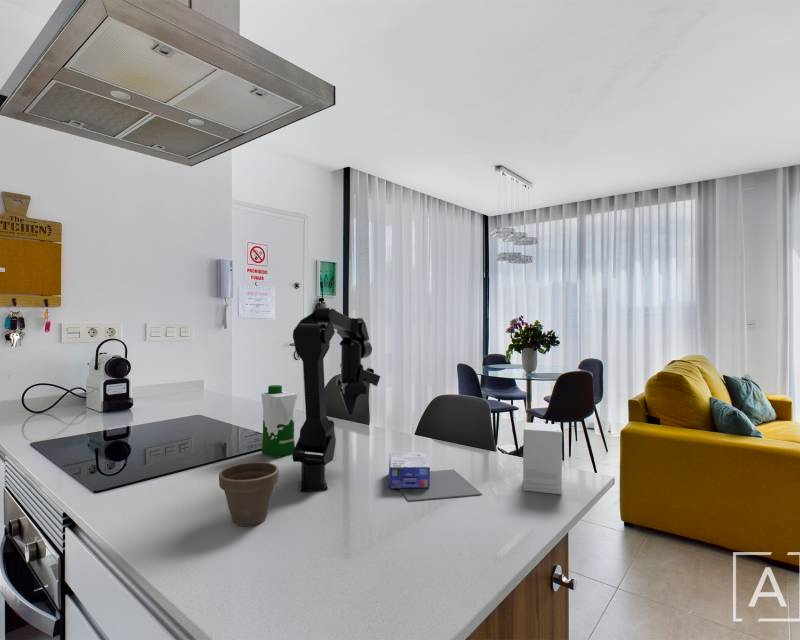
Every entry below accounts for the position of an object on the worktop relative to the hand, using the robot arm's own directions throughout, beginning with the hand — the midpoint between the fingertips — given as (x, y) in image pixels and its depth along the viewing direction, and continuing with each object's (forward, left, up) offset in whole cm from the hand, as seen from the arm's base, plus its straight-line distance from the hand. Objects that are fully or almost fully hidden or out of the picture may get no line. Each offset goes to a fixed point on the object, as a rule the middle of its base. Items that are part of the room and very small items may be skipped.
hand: (350, 414), depth 135 cm
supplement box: (-32, -43, -13) cm, 55 cm away
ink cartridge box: (-15, -13, -10) cm, 23 cm away
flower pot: (-36, +26, -13) cm, 46 cm away
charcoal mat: (-25, -17, -13) cm, 33 cm away
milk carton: (+10, +20, -13) cm, 26 cm away
